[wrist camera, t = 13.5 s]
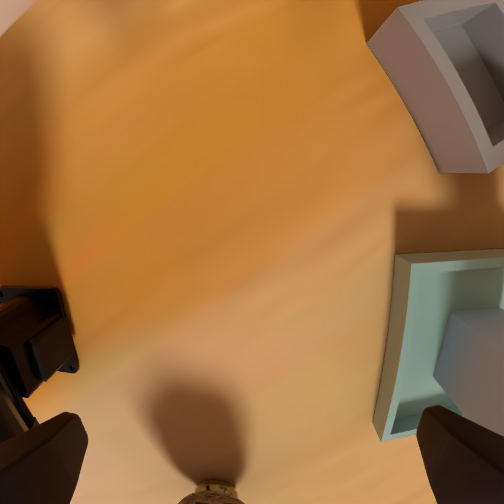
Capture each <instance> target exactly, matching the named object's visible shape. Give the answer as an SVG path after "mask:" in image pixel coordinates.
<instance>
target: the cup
mask: <svg viewBox="0 0 504 504" xmlns="http://www.w3.org/2000/svg"><path fill="white" fill-rule="evenodd" d="M178 504H244V503H243V502H242V501H241V500H239V499H238V495H237V492H236V490H235V488H234V487H233V486H232V485H230V484H228V483H226V482H223V481H218V480H208V481H204V482H202V483H201V484H199V485H198V487H197V488H196V489H195V493H192V494H190V495H188V496H186V497H185V498H183V499H182V500H181V501H180V502H179V503H178Z"/></svg>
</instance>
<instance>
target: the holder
mask: <svg viewBox="0 0 504 504" xmlns="http://www.w3.org/2000/svg"><path fill="white" fill-rule="evenodd" d="M366 44H367V45H368V46H369V48H370V49H371V51H372V52H373V54H374V55H375V57H376V58H377V60H378V61H379V63H380V64H381V66H382V67H383V69H384V70H385V72H386V74H387V75H388V77H389V78H390V80H391V82H392V83H393V85H394V87H395V88H396V90H397V92H398V93H399V95H400V97H401V98H402V100H403V102H404V104H405V105H406V107H407V109H408V111H409V113H410V114H411V116H412V118H413V120H414V122H415V124H416V126H417V128H418V130H419V132H420V133H421V135H422V137H423V139H424V141H425V144H426V146H427V148H428V150H429V152H430V154H431V156H432V158H433V160H434V163H435V165H436V167H437V169H438V172H439V173H484V174H489V173H490V172H492V171H493V170H494V169H496V168H497V167H499V166H500V165H501V164H503V163H504V2H503V0H422V1H418V2H414V3H410V4H406V5H403V6H399V7H397V8H396V9H395V10H394V11H393V12H392V14H391V15H390V16H389V17H388V18H387V19H386V21H385V22H384V23H383V24H382V25H381V27H380V28H379V29H378V30H377V31H376V33H375V34H374V35H373V36H372V37H371V38H370V40H369V41H368V42H367V43H366Z"/></svg>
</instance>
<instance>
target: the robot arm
mask: <svg viewBox="0 0 504 504" xmlns="http://www.w3.org/2000/svg"><path fill="white" fill-rule="evenodd" d="M53 293H54V294H55V297H54V296H53ZM71 365H72V366H73V367H74V368H73V367H72V366H71ZM78 370H79V364H78V360H77V357H76V353H75V349H74V346H73V342H72V338H71V335H70V331H69V327H68V323H67V319H66V315H65V311H64V306H63V302H62V297H61V293H60V291H59V289H58V288H56V287H22V286H2V287H0V504H70V501H71V499H72V496H73V494H74V491H75V488H76V485H77V482H78V478H79V474H80V471H81V467H82V463H83V459H84V456H85V452H86V449H87V445H88V435H87V433H86V431H85V428H84V426H83V424H82V421H81V419H80V417H79V416H78V415H77V414H74V413H69V412H63V413H61V414H59V415H57V416H55V417H53V418H51V419H49V420H47V421H45V422H43V423H41V424H39V422H38V421H37V419H36V418H35V417H33V415H32V413H31V412H30V410H29V408H28V407H27V405H26V403H25V402H24V400H23V398H22V397H25V398H29V397H30V396H31V394H32V393H33V392H34V391H35V390H36V389H37V388H38V387H39V386H40V385H41V384H42V383H43V382H46V381H48V380H49V379H50V378H51V377H52V375H53V374H54V373H55V372H56V371H60V372H67V373H76V372H77V371H78ZM416 436H417V441H418V444H419V447H420V451H421V455H422V458H423V462H424V465H425V469H426V473H427V476H428V480H429V483H430V486H431V488H432V491H433V493H434V496H435V498H436V501H437V504H504V436H502V435H500V434H498V433H496V432H494V431H491V430H489V429H487V428H485V427H483V426H481V425H479V424H477V423H475V422H473V421H471V420H469V419H467V418H465V417H463V416H461V415H459V414H457V413H455V412H453V411H451V410H449V409H447V408H445V407H443V406H441V405H433V406H429V407H426V408H425V409H424V410H423V412H422V415H421V418H420V421H419V424H418V427H417V431H416Z"/></svg>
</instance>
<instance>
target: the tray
mask: <svg viewBox="0 0 504 504" xmlns="http://www.w3.org/2000/svg"><path fill="white" fill-rule="evenodd" d="M499 307H500V308H501V309H503V310H504V248H501V249H484V250H467V251H449V252H431V253H412V254H395V261H394V277H393V290H392V301H391V311H390V320H389V329H388V337H387V344H386V351H385V358H384V365H383V371H382V377H381V382H380V388H379V393H378V399H377V404H376V408H375V413H374V418H373V422H372V423H373V425H374V427H375V429H376V432H377V434H378V436H379V439H380V441H381V442H384V441H389V440H393V439H398V438H402V437H407V436H411V435H415V434H416V431H417V427H418V424H419V421H420V418H421V415H422V412H423V410H424V409H425V408H426V407H429V406H433V405H441V406H443V407H445V408H447V409H449V410H451V411H453V412H455V413H457V414H459V415H461V416H463V417H465V416H464V415H463V414H462V413H461V411H460V410H459V409H458V407H457V406H456V405H455V404H454V402H453V401H452V400H451V399H450V397H449V396H448V395H447V393H446V392H445V391H444V390H443V389H442V387H441V386H440V385H439V384H438V382H437V381H436V380H435V379H434V377H433V374H434V370H435V367H436V364H437V360H438V357H439V353H440V350H441V346H442V342H443V338H444V334H445V330H446V326H447V322H448V318H449V313H450V312H452V311H465V310H477V309H489V308H499Z"/></svg>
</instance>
